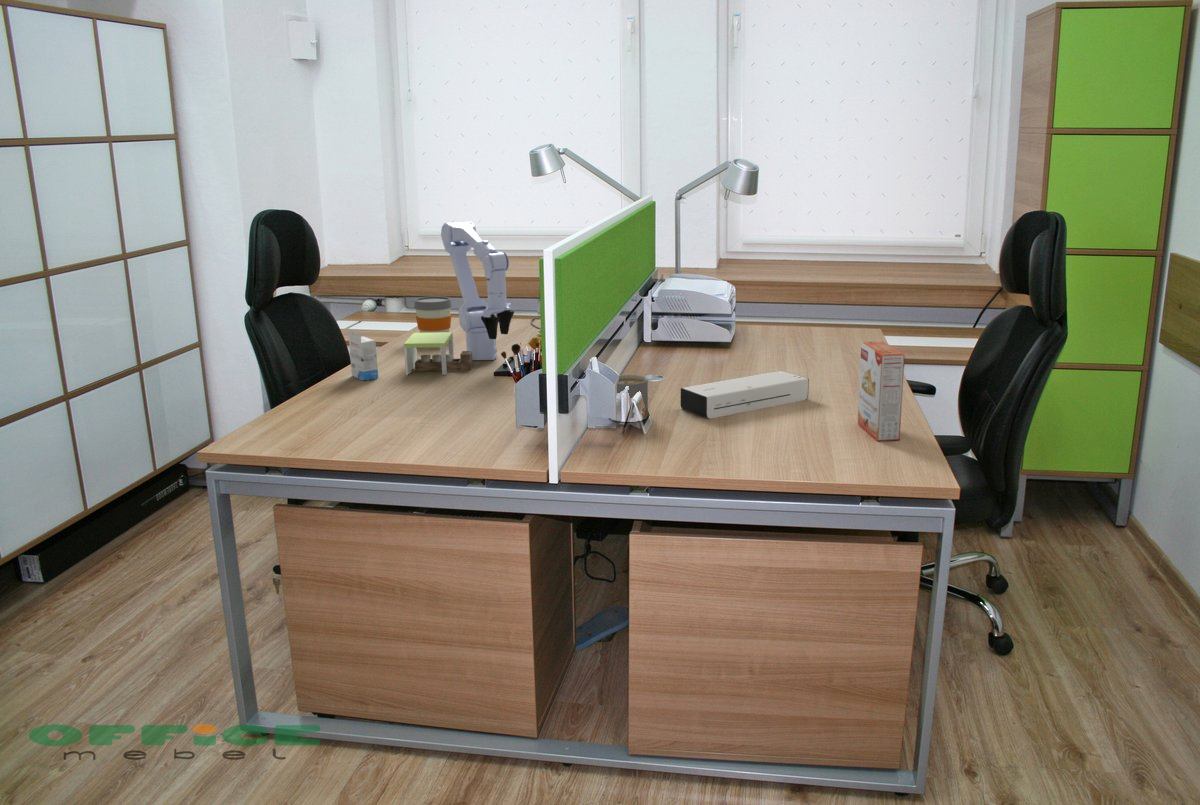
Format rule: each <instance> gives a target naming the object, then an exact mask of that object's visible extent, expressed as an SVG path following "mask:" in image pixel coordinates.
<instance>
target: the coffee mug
mask: <svg viewBox="0 0 1200 805" xmlns="http://www.w3.org/2000/svg"><path fill="white" fill-rule="evenodd" d="M648 379H649V378H647V377H646V376H643V375H639V374H619V381H618V383H617V393H620V392H621V391H623V390H624V389H625V387H626V386H629V390H628V393H629V396H630V398H632V397H633V396H634V395H635V394H636V393H637V392H639V391H640V392H641V394H642V397H643V401H644V404H645V406H646V409H647V411H648V410H649V406H648V405H649V403H648V402H649V400H648V394H649V392H648V391H649V390H648V387H649V386H648V385H649V384H648V383H649V382H648ZM648 412H649V411H648Z"/></svg>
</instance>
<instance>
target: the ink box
mask: <svg viewBox="0 0 1200 805" xmlns="http://www.w3.org/2000/svg"><path fill="white" fill-rule="evenodd" d="M353 334H354V335H353ZM376 341H377V340H375V339H372V338H370V337H369V338H368V337H367V336H362V333H361V331H357V330H355V329H351V328H348V344H349V354H350V366H351V367H350V368H351V369H350V370H351V377H353V376H354V377H353V378H355V377H356V379H358V378H359V379H358V380H360V379H361V380H360V381H363V380H367V381H370V380H369V379H373V380H376V379H375V378H378V379H379V371H378V370H379V369H378V356H377V345H376V344H377V343H376Z"/></svg>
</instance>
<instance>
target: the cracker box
mask: <svg viewBox="0 0 1200 805" xmlns="http://www.w3.org/2000/svg"><path fill="white" fill-rule="evenodd" d="M860 344H861V345H860V346H861V348H860V363H859V364H860V367H859V385H858V386H859V388H858V406H857V407H858V408H857V424H858V425H859V426H860V427H861V428H862V429H863V430H864V431H866V433H868V435H870V436H871V437H873V439H874V440H876V442H885V441H886V442H887V441H900V439H901V425H902V410H903V409H902V407H903V394H904V389H903V388H904V377H905V360H906V354H905V353H902V351H900V350H898V349H896V348H895V347H893V346H892V345H890V344H889V343H887V342H885V341H862V342H860Z"/></svg>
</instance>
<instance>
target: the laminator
mask: <svg viewBox="0 0 1200 805" xmlns="http://www.w3.org/2000/svg"><path fill="white" fill-rule="evenodd" d="M809 382H810V380H809V378H808V377H805V376H802V375H799V374H795V373H791V372H788V371H785V370H778V371H772V372H766V373H761V374H755V375H749V376H743V377H737V378H730V379H726V380H721V381H720V380H719V381H714V382H709V383H704V384H696V385H690V386H686V387H681V388H680V408H681V409H683V410H685V411H687V412H690V413H693V414H696V415H698V416H700V417H702V418H703V417H704V418H706V419H707V420H710V419H714V418H719V417H725V416H731V415H735V414H739V413H740V414H741V413H746V412H750V411H755V410H760V409H765V408H772V407H777V406H781V405H782V406H783V405H787V404H792V403H797V402H802V401H807V399H808V398H809V387H810V386H809V385H810V384H809Z"/></svg>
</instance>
